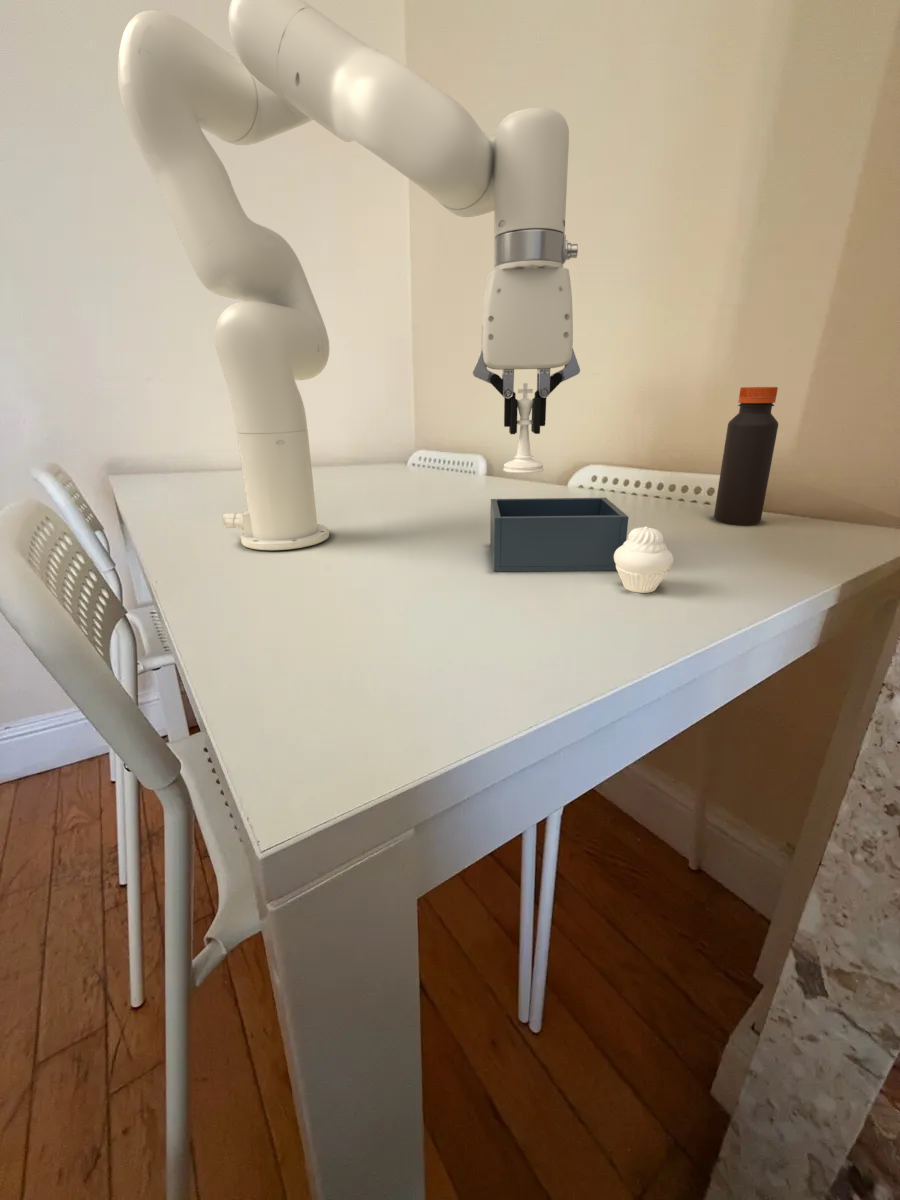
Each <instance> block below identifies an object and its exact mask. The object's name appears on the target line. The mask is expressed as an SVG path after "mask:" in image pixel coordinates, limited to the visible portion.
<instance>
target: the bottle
mask: <svg viewBox="0 0 900 1200" xmlns="http://www.w3.org/2000/svg"><path fill="white" fill-rule="evenodd" d="M778 389H779V388H778V387H777V386H742V387H740V389H739V394H738V401H737V403H739V404H738V405H737V406H738V407H739V410H738V413H737V414H735V416H734V417H733V418H732V419H730V420H729V421H728V424H727V427H726V434H725V440H724V447H723V452H722V453H723V454H722V459H721V460H722V461H721V467H720V474H719V481H718V485H717V486H718V487H717V492H716V499H715V506H714V512H713V513H714V514H713V518H714V520H715V521H717V522H719V523H721V524H722V523H723V524H727V525H735V526H754V525H758V524H760V523H761V520H762V516H763V511H764V505H765V504H764V503H765V499H766V496H767V495H766V494H767V489H768V483H769V478H770V472H771V467H772V461H773V456H774V451H775V445H776V440H777V436H778V435H777V434H778V430H779V422H778V420H777V419H776V418H775V416H774V415H773V414H772V409H773V407H775V404H776V401H777V395H778ZM774 403H775V404H774Z"/></svg>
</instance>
